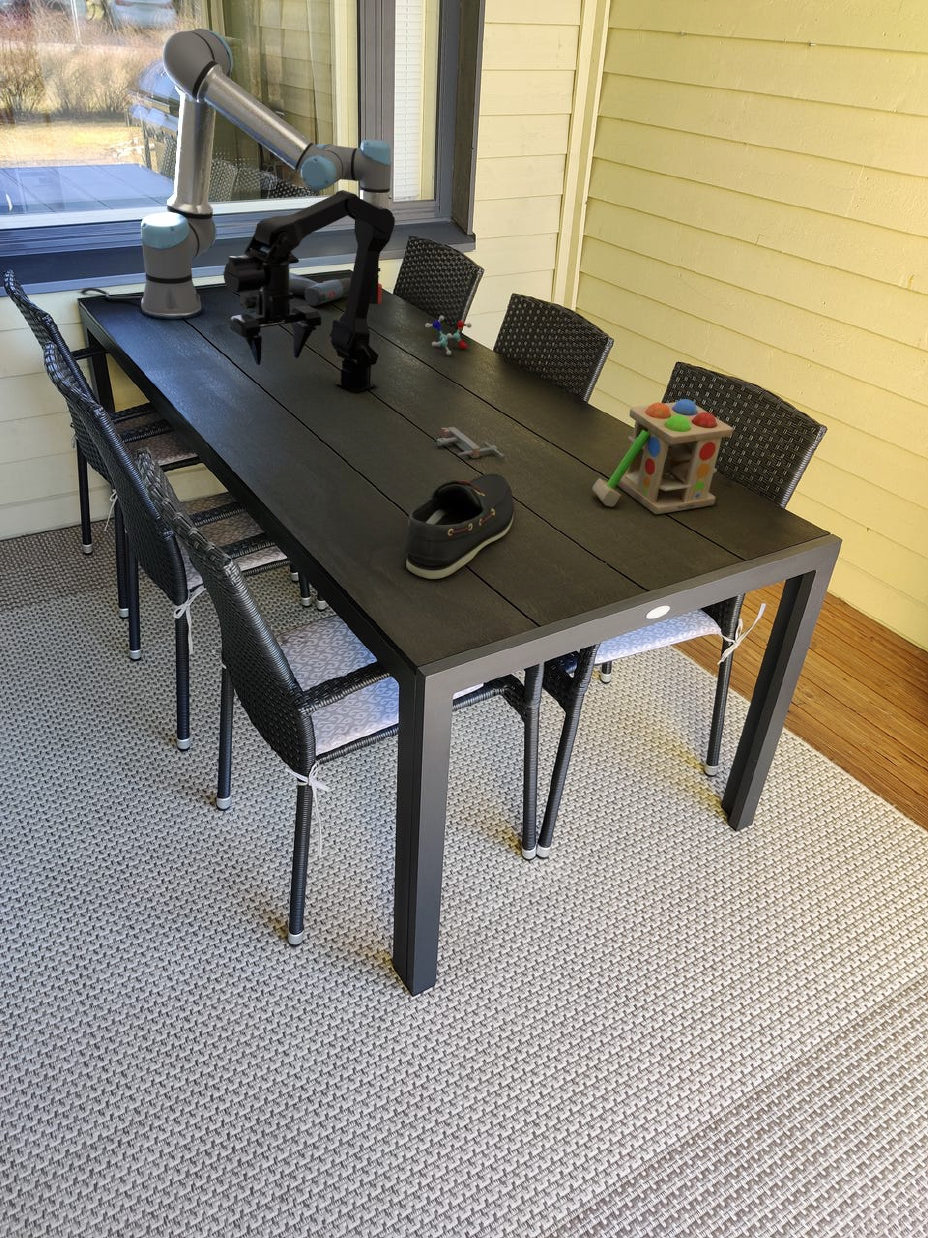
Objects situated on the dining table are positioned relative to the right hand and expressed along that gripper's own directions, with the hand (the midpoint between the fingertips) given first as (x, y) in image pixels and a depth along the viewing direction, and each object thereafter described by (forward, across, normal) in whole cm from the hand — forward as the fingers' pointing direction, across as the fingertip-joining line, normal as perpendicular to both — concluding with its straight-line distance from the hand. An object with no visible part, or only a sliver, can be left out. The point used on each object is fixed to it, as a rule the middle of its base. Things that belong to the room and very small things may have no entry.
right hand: (277, 360), depth 208 cm
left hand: (+4, -51, -38) cm, 64 cm away
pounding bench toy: (+10, -39, +73) cm, 83 cm away
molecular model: (+10, -56, -12) cm, 58 cm away
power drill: (+10, -50, -66) cm, 83 cm away
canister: (+4, -51, -38) cm, 64 cm away
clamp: (+10, -21, +39) cm, 46 cm away
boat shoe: (+10, +2, +66) cm, 67 cm away
